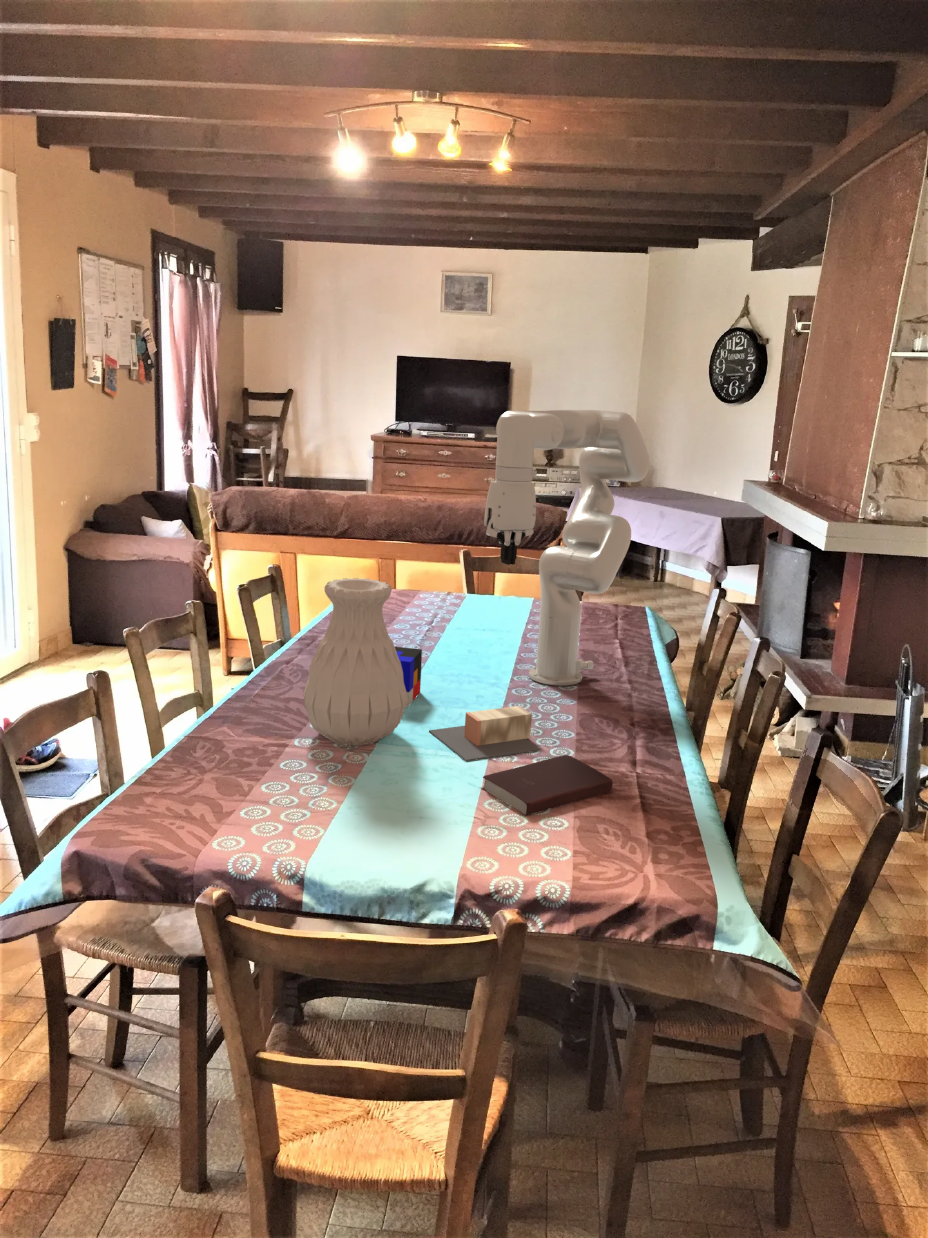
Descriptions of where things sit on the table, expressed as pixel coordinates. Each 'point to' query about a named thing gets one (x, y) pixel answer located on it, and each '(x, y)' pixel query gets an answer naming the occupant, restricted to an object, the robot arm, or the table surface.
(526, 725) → the tall block
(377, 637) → the vase
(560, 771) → the book
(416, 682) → the puzzle toy
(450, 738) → the mat
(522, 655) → the table surface
